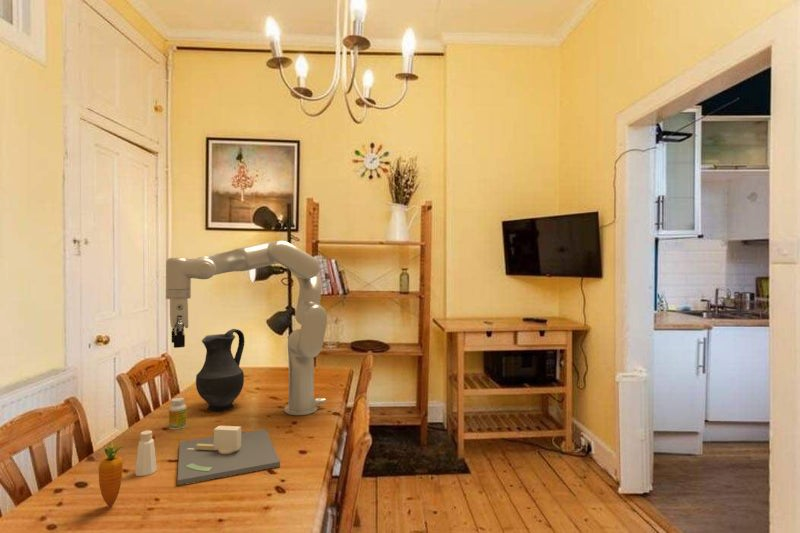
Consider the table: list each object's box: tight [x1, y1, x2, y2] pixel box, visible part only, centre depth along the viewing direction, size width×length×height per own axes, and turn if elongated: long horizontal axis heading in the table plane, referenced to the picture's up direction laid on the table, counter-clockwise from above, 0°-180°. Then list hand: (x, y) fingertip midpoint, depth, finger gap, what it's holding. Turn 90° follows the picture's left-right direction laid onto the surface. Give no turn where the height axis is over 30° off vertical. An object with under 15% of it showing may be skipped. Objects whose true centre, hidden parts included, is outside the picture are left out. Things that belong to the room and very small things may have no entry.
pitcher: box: [195, 328, 245, 413], centre depth 174 cm, size 17×21×30 cm
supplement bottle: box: [168, 397, 187, 431], centre depth 153 cm, size 5×5×10 cm
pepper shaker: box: [134, 429, 158, 477], centre depth 121 cm, size 5×5×11 cm
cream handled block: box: [196, 425, 242, 454], centre depth 131 cm, size 13×5×7 cm, turn 86°
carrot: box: [98, 442, 124, 507], centre depth 104 cm, size 5×5×15 cm
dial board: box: [176, 429, 281, 486], centre depth 131 cm, size 26×26×2 cm
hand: (177, 344), depth 149 cm, fingers open, 9 cm apart
